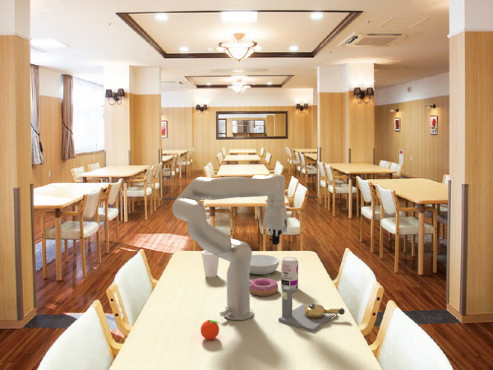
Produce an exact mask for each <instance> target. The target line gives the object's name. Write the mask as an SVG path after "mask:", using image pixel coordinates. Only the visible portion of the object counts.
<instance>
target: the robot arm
mask: <svg viewBox="0 0 493 370" xmlns="http://www.w3.org/2000/svg"><path fill="white" fill-rule="evenodd" d="M285 182H286V179H285V175H283V174H270V175H263V174H258V175H254V176H253V177H244V176H224V177H204V176H200V177H196V178H195V179H193V180H192V181H191V182H190V183H189V184H188V185H187V186H186V187H185V188H184V190H183V191H182V192H181V193H180V194H179V195H178V196H177V197H176V199H175V200H174V202H173V204H172V207H171V211H172V213H173V216H174V217H175V218H177V219H180V220H182V221H185V222H187V233H188V235H189V237H190V238H191V240H193V241H195V242H197V243H198V246H199V247H200V248H202V249H203V251H204V250H206V251H208V252H210V253H212V254H214V255H216V256H218V257H219V259H220V258H221V259H223V260H225V261H227V262H229V265H228V268H227V271H226V305H225V309H224V310H221V311H220V312H219V316H220V317H224V318H226V319H228V320H231V321H245V320H248V319H251V318H252V317H253V316H254V310H253V309H252V308H251V302H250V301H251V292H250V281H251V280H250V278H251V277H250V276H251V275H250V274H251V273H250V263H251V258H252V255H253V251H252V250H253V249H252V247H251V246H250V245H249V244H248V243H247V242H245V241H242V240H239V239H235V238H232V237H231V236H230V235H229V234H227V232H225V231H224V230H221V229H219V228H217V227H216V226H214V225H212V224H211V223H209V222H208V220H207V219H208V218H207V209H206V208H205V206H204V204H203V203H201V202H200V201H201V200H202V199H203V200H207V201H209V200H210V201H216V200H223V199H224V200H225V199H234V198H236V199H237V198H251V197H252V198H254V197H256V198H257V197H259V198H260V197H267V199H265V202H266V203H267V205H266V206H265V208H264V214H263V227H264V228H265V230H267V231H268V232H269V233H270V236H271V241H272V243H271V244H272V245H273V246H277V245H280V242H281V240H280V239H281V237H280V236H281V235H282V234H283V233H287V232H288V223H289V222H288V212H287V207H286V206H285V205H286V203H285V202H286V201H285V199H286V194H285V193H286V192H285V191H286V190H285V188H286V183H285Z"/></svg>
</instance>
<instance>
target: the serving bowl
mask: <svg viewBox="0 0 493 370" xmlns="http://www.w3.org/2000/svg"><path fill="white" fill-rule="evenodd" d="M279 265H280V259H279V258H278V257H277V256H274V255H269V254H252V258H251V263H250V274H253V275H258V274H259V276H261V275H262V274H263V275H268V274H271V273H273V272H275V271H276V270H277V269H278V267H279Z"/></svg>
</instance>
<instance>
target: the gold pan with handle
mask: <svg viewBox="0 0 493 370" xmlns="http://www.w3.org/2000/svg"><path fill="white" fill-rule="evenodd" d="M324 313H337V315H338V314H339V315H341V316H343V315H344V314H345V313H346V311H345V309H344V308H343V307H340V308H326V307H324V306H323V305H321V304H316V303H309V304H308V305H306V306H305V311H304V315H305V316H306V317H308V318H312V319H319V318H322V317H324Z"/></svg>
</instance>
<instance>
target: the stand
mask: <svg viewBox="0 0 493 370" xmlns="http://www.w3.org/2000/svg"><path fill="white" fill-rule="evenodd" d="M306 305H308V304H307V303H303V304H301V305H300V306H298V307H296V308H294V309H293V291H292V288H291V287H288V286H286V287H284V288H281V309H282V310H281V316H280V317H278V322H280V323H282V322H283V324H285V325H286V324H287V325H289V326H293V327H295V326H296V328H298V327H299V328H298V329H301V328H303V329H302V330H304V329H306V331H308V330H309V331H308V332H311V331H314V330H315V331H317V330H318V329H319V327H320V326H321V325H323V324H324V323H326V322H327V321H328V320H330V319H331V318H332V317H334V316H335V315H337V316H338V314H337V313H324V317H322V318H319V319H312V318H308V317H306V316H305V315H304V311H305V306H306ZM334 318H335V317H334ZM331 320H332V319H331ZM331 320H330V321H331ZM328 322H329V321H328ZM328 322H327V323H328ZM327 323H326V324H327ZM324 325H325V324H324ZM324 325H323V326H324ZM321 327H322V326H321ZM321 327H320V328H321ZM317 328H318V329H317ZM316 329H317V330H316ZM315 331H314V332H315Z"/></svg>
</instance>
